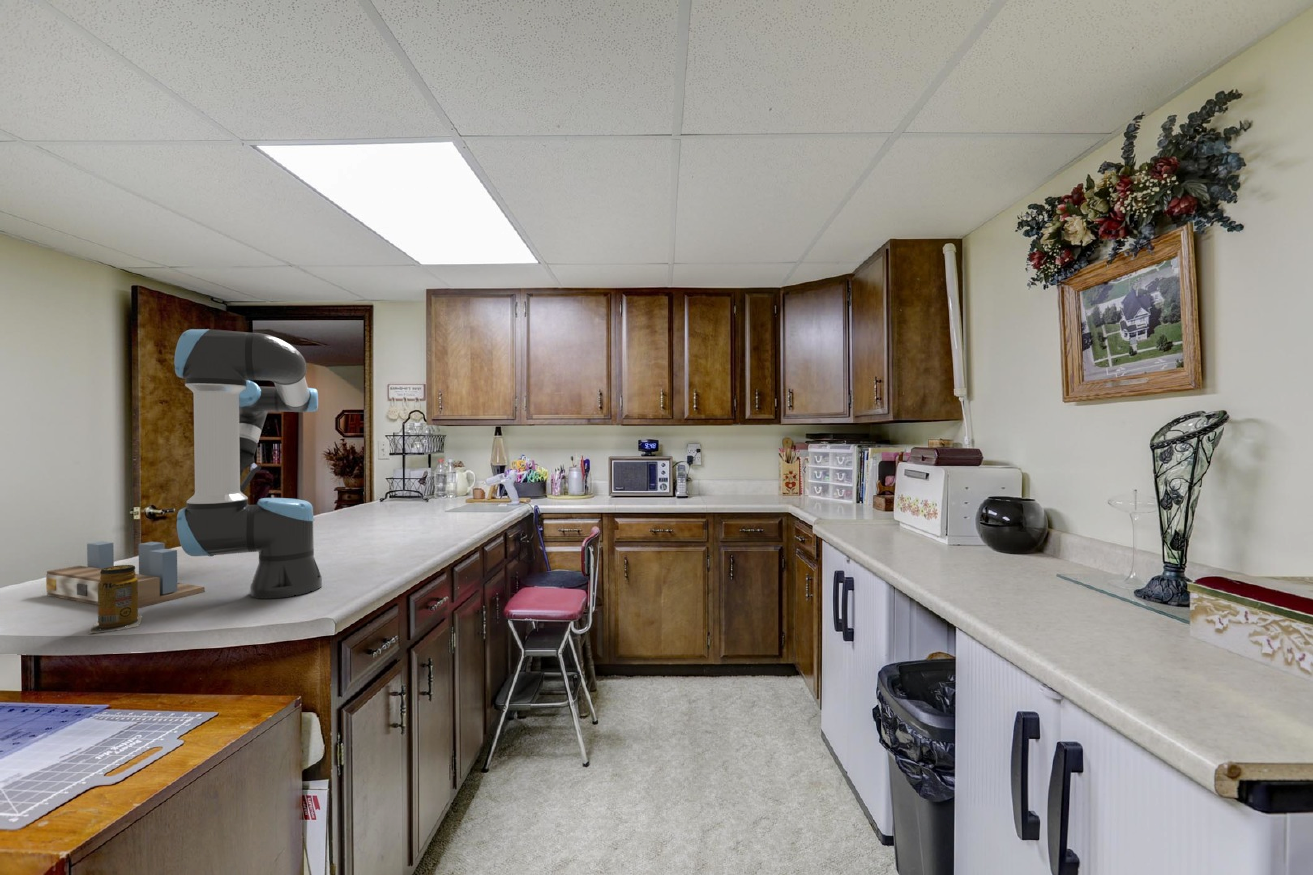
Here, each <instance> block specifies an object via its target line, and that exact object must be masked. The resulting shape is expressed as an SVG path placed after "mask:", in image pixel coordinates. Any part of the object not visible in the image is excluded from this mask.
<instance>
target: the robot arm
mask: <svg viewBox="0 0 1313 875" xmlns="http://www.w3.org/2000/svg"><path fill="white" fill-rule="evenodd" d="M174 351H175V352H174V364H173V365H174V371H175V372H174V373H175V374H176V376H177V377H179V378H180V379H184V387H186V388H188V389H189V390H190V391H192V393H193V438H194V439H193V440H194V441H193V443H194V444H193V445H194V450H193V452H194V494H193V495H192V496H190V498H189V499H188V500H186V507H183V508H181V509H179V510H178V513H177V514H176V519H177V521H176V533H177V536H178V537H177V538H178V540H179V544H180V546H181V548H182V550H183V552H184V553H185V554H187V555H188V556H190V557H214V556H222V555H233V554H245V553H258V564H257V567H256V569H255V573H254V576H253V579H252V581H251V584H250V589H249V590H250V592H249V593H250V596H251V597H252V598H255V599H278V598H279V599H282V598H289V597H295V596H294V595H296V596H300V595H301V596H302V595H303V594H308V593H311V592H310V591H312V592H314V591H316V590H319V589H320V588H321V587H322V586H323V578H322V577H323V576H322V575H321V572H320V568H319V566H318V565H317V561H316V560H315V548H314V547H315V546H314V543H315V542H314V541H315V540H314V539H315V538H314V521H315V517H314V507H313V505H312V503H311V502H309V501H308V500H303V499H298V498H285V497H264V498H262V497H261V498H260V499H258V501H257V503H256V504H249V501H248V500H249V498H248V496H247V495H245V494H244V492H245V491H246V489H247V487H248V485H249V484H250V482H251V481H252V480H253V478H254V476H255V474H257V472H259V471H260V470H261V469H262V466H261V465H257V464H256V463H255V454H256V450H257V448H258V443H259V440H260V437H261V434H262V431H263V427H264V425H265V421H266V418H267V415H268V413H269V412H286V413H287V412H291V413H292V412H294V413H308V412H309V413H311V412H314V413H315V412H316V411H318V409H319V393H318V392H319V391H318V390H317V389H316V388H313V387H308V383H307V380H306V374H307V372H308V369H307V368H308V367H307V362H306V359H305V357H304V356H303V355H302V354H301V352H300V351H299V350H297V349H296V347H295V346H293V345H291V344H290V343H288V342H286V341H285V340H283V339H281V338H278V337H276V336H274V335H270V334H266V333H261V332H246V331H245V332H244V331H237V330H236V331H233V330H224V329H223V330H222V329H209V328H207V329H205V328H204V329H202V328H201V329H200V328H199V329H198V328H197V329H194V328H192V329H191V328H190V329H188V330H185V331H184V332H182V334H181V335H180V337H179V338H178V341H177V344H176V348H175V350H174ZM254 381H270V382H272V383H273V384H274V386H259V385H258V384H257V383H256V382H254ZM248 467H249V472H248V473H247V475H246V476H245V477H244V478H243V481H242V482H241V479H242V478H241V477H242V475H243V472H244V470H246V469H247V468H248ZM318 588H319V589H318Z"/></svg>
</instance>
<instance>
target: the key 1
mask: <svg viewBox="0 0 1313 875" xmlns="http://www.w3.org/2000/svg"><path fill="white" fill-rule="evenodd" d="M86 547H87V548H86V552H87V553H86V554H87V555H86V556H87V559H86V560H87V566H86V567H92V568H99V569H104V568H107V567H112V566H115V564H114V563H115V562H114V561H115V560H114V559H115V558H114V555H115V554H114V547H115V546H114V542H111V541H110V542H108V541H95V542H89V543H87V544H86Z"/></svg>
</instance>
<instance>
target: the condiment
mask: <svg viewBox="0 0 1313 875" xmlns="http://www.w3.org/2000/svg"><path fill="white" fill-rule="evenodd" d="M100 573H101V577H100V579H101V581H100V582H99V584H98V605H97V622H95V623H94V624H93V626H92V627H91V630H90V631H89V633H88V634H98V633H104V632H112V631H120V630H125V629H131V628H135V627H136V628H137V627H139V626H140V625H141V622H142V619H143V615H139V608H138V579H137V578H136V577H135V574H137V572H136V567H135V565H133V564H119V565H114V566H112V567H107V568H104V569H102V570H101V572H100Z"/></svg>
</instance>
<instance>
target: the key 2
mask: <svg viewBox="0 0 1313 875" xmlns="http://www.w3.org/2000/svg"><path fill="white" fill-rule="evenodd" d="M149 555H150V576H154V577H159V578H160V594H167V593H171V592H175V591H177V583H178V550H176V549H170V548H165V549H159V550H153V551H149Z"/></svg>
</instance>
